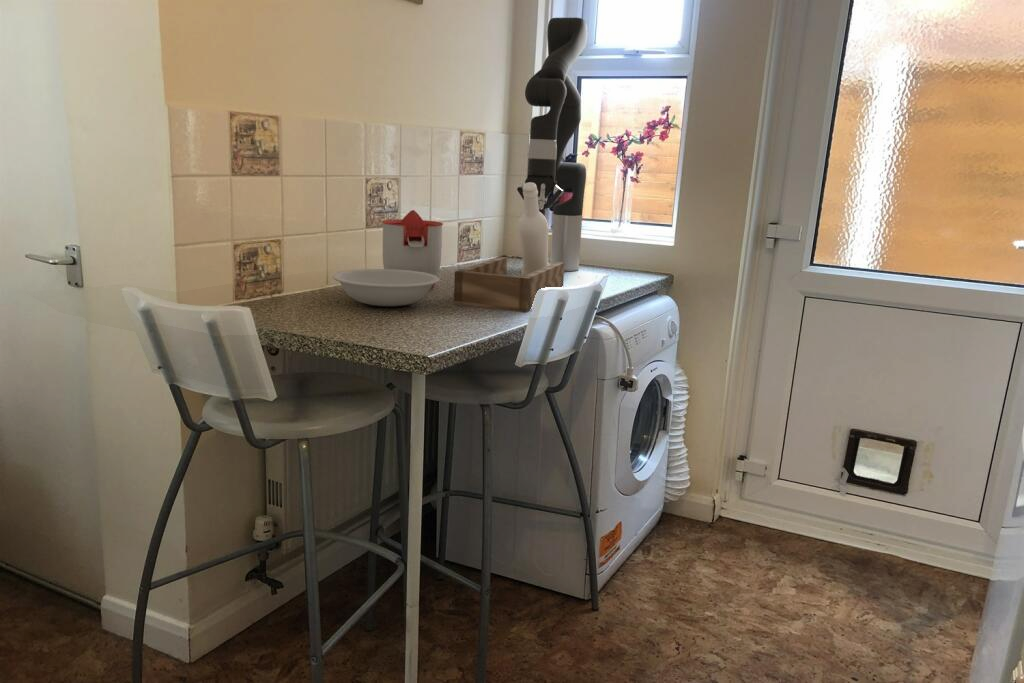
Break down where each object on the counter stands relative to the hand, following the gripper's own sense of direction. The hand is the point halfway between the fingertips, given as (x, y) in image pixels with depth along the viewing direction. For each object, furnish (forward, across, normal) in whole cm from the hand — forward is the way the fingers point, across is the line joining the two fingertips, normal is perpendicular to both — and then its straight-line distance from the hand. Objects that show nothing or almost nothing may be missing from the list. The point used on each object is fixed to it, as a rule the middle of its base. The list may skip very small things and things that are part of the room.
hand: (538, 223), depth 216 cm
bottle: (+15, 0, -1) cm, 15 cm away
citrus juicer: (+18, +27, +21) cm, 39 cm away
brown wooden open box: (+17, 0, +20) cm, 27 cm away
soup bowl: (+18, +22, +45) cm, 53 cm away
